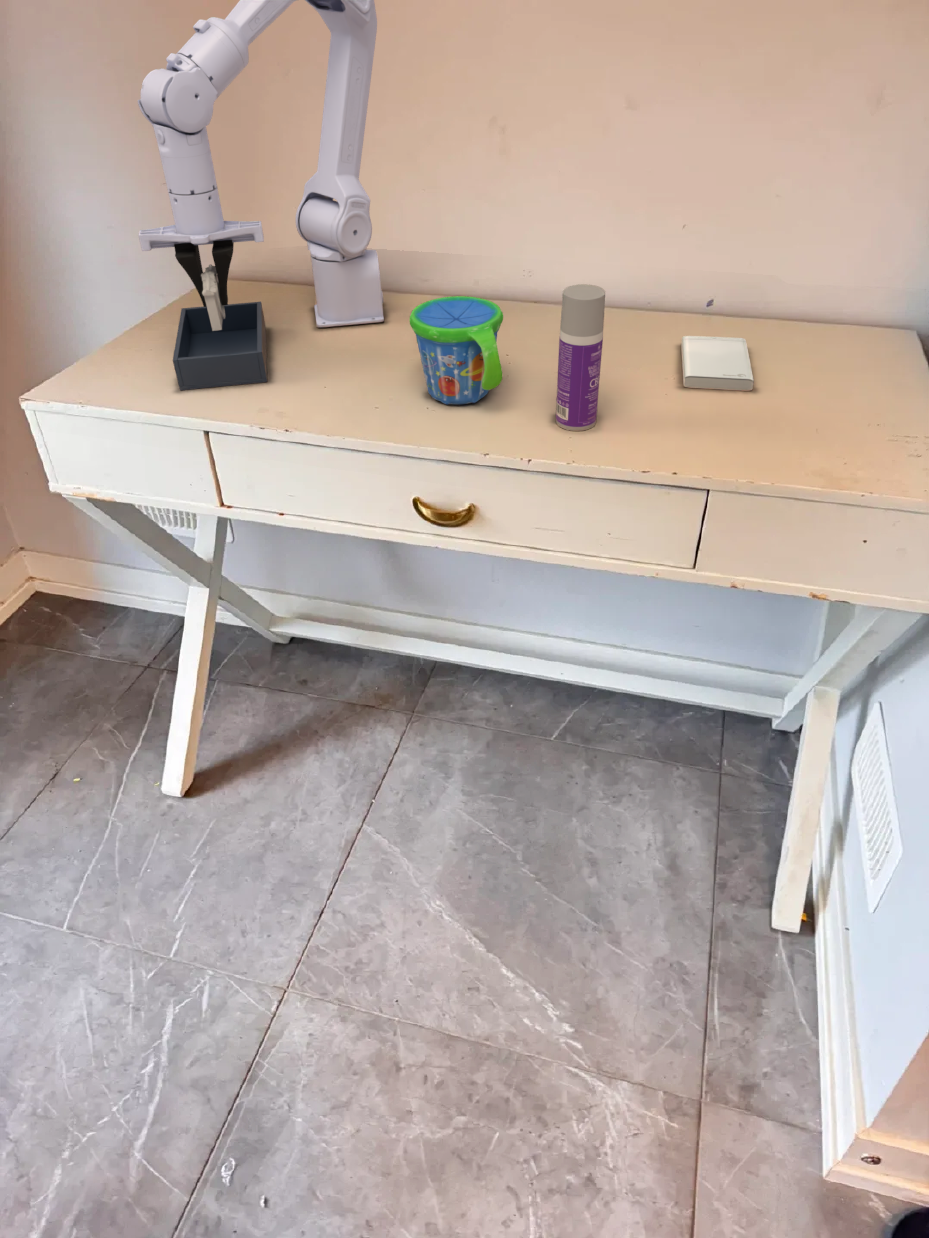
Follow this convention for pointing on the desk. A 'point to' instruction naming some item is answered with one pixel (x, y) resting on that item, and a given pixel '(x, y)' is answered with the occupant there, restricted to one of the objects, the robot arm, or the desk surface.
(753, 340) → the desk surface
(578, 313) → the container
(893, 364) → the desk surface
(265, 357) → the tote
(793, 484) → the desk surface
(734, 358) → the hard drive
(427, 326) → the snack cup
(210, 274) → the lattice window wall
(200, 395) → the desk surface
